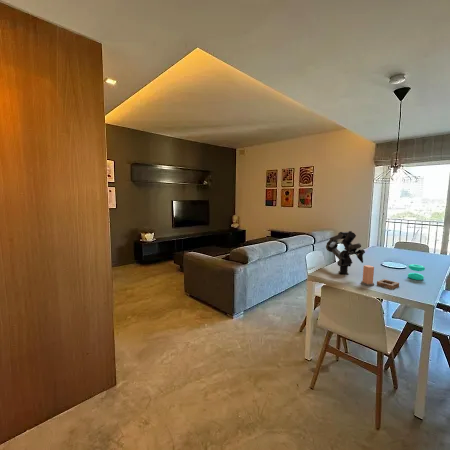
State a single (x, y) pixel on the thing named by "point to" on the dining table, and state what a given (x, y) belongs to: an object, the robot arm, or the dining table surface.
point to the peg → (368, 274)
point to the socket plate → (388, 283)
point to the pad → (367, 284)
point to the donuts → (416, 275)
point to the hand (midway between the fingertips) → (357, 262)
